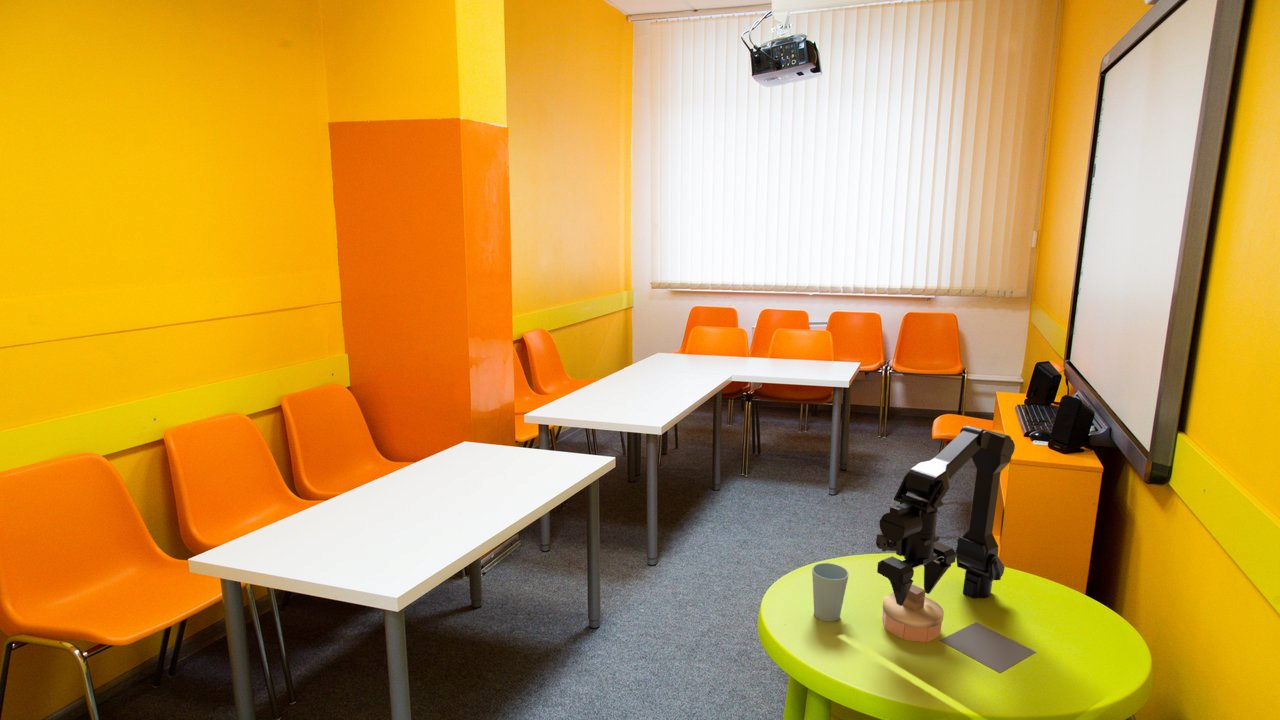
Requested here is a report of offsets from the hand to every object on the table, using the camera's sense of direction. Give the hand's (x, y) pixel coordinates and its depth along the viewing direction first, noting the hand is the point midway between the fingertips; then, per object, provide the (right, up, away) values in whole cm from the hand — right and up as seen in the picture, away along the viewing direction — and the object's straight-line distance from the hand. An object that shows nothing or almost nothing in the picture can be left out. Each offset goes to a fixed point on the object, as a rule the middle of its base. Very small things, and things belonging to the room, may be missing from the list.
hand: (913, 598), depth 155 cm
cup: (-16, -6, +7) cm, 19 cm away
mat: (+13, -9, -5) cm, 17 cm away
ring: (0, -7, +2) cm, 8 cm away
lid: (0, -3, +1) cm, 3 cm away
